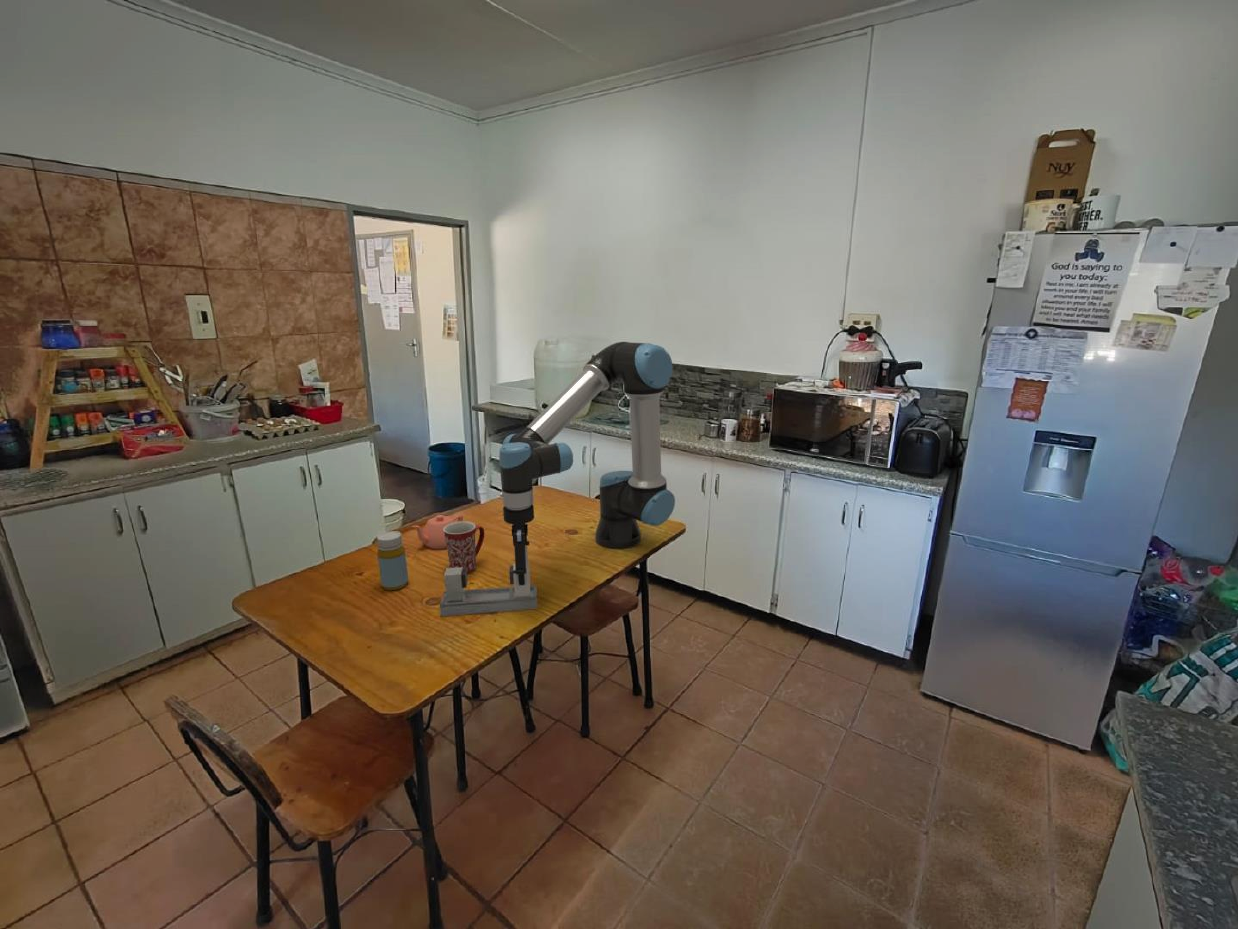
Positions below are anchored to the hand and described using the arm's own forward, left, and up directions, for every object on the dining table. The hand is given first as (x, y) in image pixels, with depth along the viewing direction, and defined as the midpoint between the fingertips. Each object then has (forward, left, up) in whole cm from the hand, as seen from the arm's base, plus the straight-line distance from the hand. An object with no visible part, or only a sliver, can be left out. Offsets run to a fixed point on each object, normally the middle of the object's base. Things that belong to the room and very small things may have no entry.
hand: (523, 581), depth 144 cm
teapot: (+28, -42, -6) cm, 51 cm away
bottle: (+36, -15, -6) cm, 39 cm away
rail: (+9, 0, -6) cm, 11 cm away
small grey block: (0, 0, -4) cm, 4 cm away
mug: (+17, -23, -6) cm, 29 cm away
